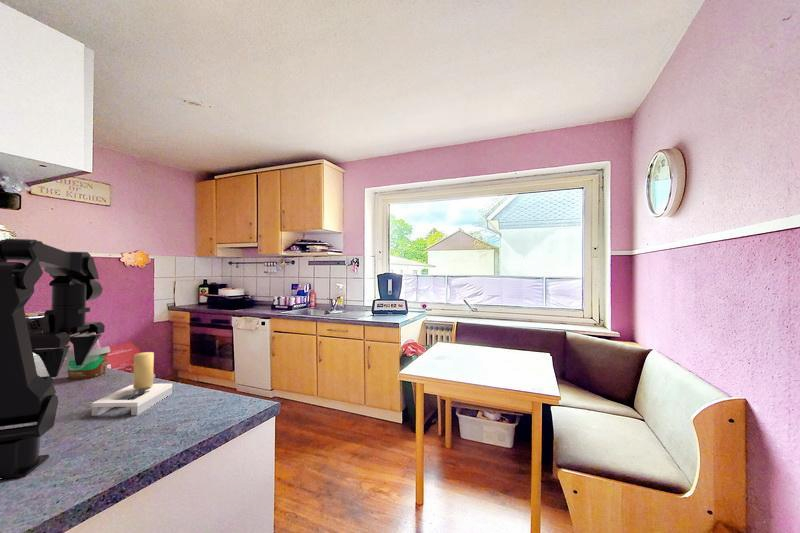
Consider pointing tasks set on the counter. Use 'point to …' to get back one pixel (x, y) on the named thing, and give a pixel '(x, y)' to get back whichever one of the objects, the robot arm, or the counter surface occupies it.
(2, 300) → the robot arm
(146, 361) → the headed peg
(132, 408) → the keyhole plate
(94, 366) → the food container
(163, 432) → the counter surface
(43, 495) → the counter surface
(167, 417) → the counter surface
